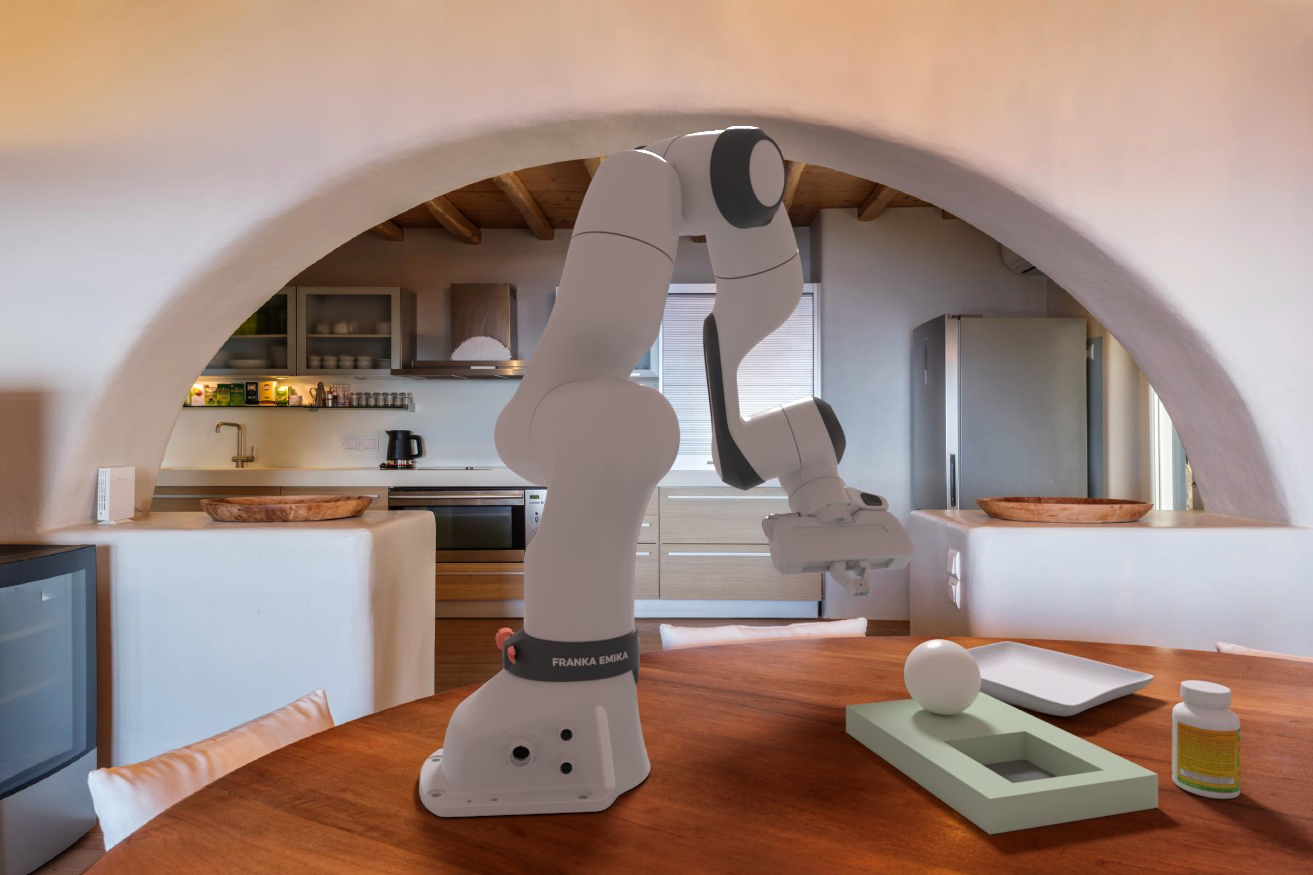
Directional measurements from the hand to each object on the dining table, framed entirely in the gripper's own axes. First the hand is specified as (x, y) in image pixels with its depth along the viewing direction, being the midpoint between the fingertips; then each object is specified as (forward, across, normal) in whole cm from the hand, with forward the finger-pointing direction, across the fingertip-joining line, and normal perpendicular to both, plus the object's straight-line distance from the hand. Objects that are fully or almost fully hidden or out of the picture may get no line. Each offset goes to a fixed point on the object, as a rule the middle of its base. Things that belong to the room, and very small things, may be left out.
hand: (861, 594), depth 103 cm
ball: (+16, 0, -8) cm, 18 cm away
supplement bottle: (+33, +17, -15) cm, 40 cm away
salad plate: (+13, +23, +6) cm, 27 cm away
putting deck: (+26, 0, -8) cm, 27 cm away
